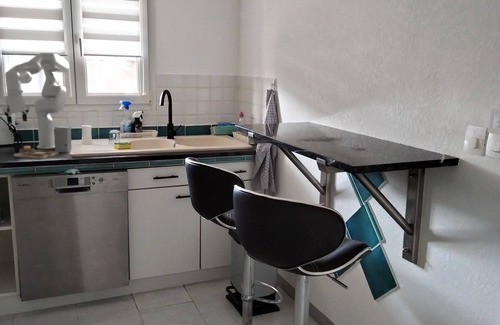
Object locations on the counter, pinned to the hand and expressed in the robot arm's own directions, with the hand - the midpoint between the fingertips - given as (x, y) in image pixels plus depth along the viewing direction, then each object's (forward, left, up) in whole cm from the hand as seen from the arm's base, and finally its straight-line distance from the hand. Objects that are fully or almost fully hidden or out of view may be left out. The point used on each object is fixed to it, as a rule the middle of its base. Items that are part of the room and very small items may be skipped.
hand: (17, 122), depth 279 cm
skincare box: (-20, +15, -21) cm, 32 cm away
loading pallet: (-4, +8, -20) cm, 22 cm away
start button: (-4, +1, -17) cm, 18 cm away
